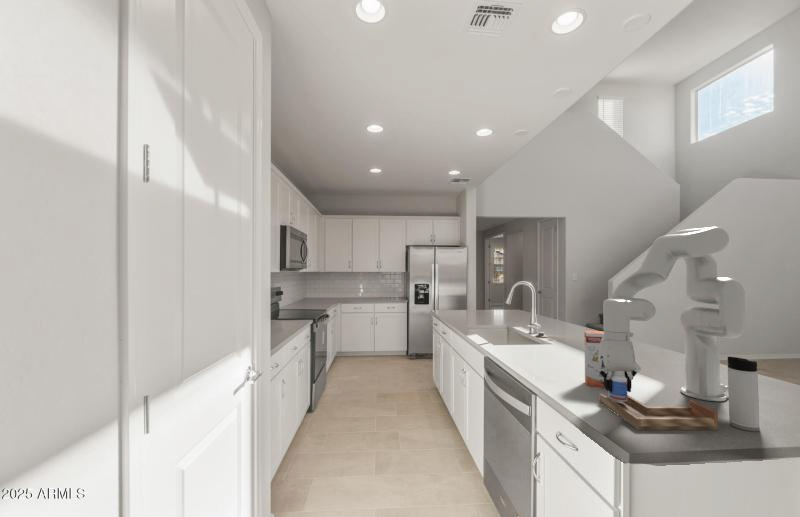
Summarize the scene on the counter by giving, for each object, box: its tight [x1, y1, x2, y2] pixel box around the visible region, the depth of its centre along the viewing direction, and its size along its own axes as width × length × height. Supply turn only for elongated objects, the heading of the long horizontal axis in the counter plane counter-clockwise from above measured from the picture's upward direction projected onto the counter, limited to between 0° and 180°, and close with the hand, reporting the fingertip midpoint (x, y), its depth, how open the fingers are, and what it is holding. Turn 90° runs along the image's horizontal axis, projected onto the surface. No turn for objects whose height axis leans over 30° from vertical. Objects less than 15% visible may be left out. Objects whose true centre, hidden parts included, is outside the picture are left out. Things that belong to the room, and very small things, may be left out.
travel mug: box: [727, 356, 760, 432], centre depth 102 cm, size 6×7×20 cm
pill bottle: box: [607, 371, 628, 402], centre depth 118 cm, size 6×5×10 cm
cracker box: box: [583, 330, 625, 389], centre depth 138 cm, size 14×6×21 cm, turn 68°
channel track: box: [599, 393, 719, 431], centre depth 110 cm, size 22×20×5 cm
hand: (617, 390), depth 118 cm, fingers closed on pill bottle, 5 cm apart
